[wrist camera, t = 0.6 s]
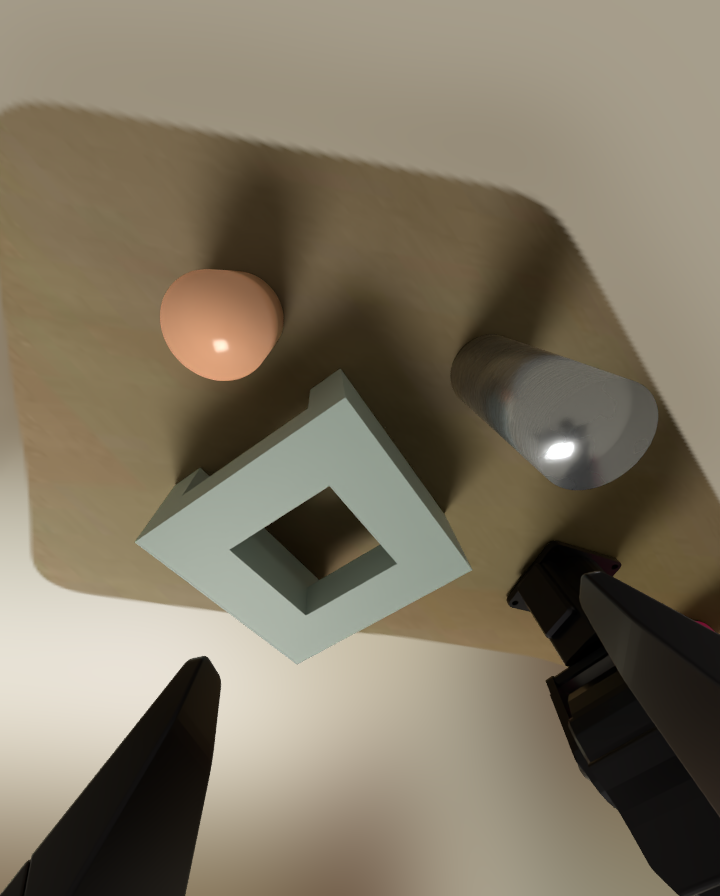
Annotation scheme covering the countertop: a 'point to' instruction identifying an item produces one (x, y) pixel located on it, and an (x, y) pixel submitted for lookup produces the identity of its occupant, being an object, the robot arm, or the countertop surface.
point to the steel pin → (556, 410)
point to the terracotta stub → (221, 322)
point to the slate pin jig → (284, 488)
